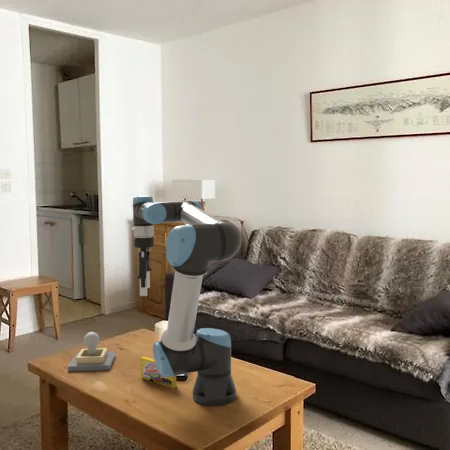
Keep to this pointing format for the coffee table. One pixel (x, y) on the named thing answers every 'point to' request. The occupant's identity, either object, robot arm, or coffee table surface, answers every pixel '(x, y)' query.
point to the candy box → (155, 373)
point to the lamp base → (92, 360)
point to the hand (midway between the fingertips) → (145, 291)
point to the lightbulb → (91, 342)
